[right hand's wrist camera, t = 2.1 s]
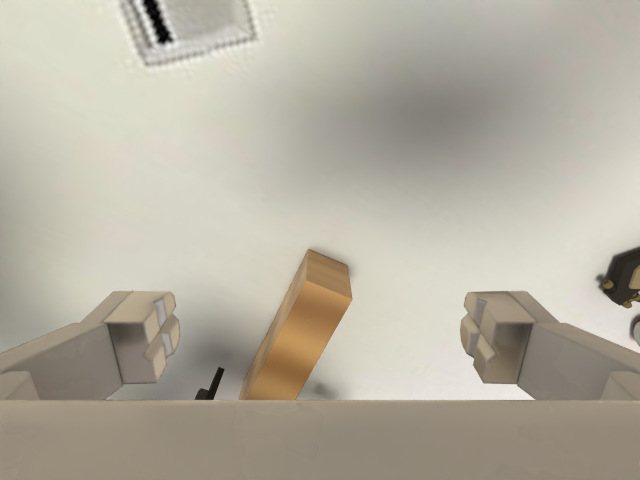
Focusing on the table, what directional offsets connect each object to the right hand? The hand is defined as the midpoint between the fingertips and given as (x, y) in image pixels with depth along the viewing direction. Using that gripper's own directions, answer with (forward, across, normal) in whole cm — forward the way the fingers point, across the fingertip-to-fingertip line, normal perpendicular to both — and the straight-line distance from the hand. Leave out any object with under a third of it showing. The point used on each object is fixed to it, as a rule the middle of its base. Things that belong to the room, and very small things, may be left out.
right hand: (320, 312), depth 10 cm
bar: (+32, -4, -23) cm, 40 cm away
